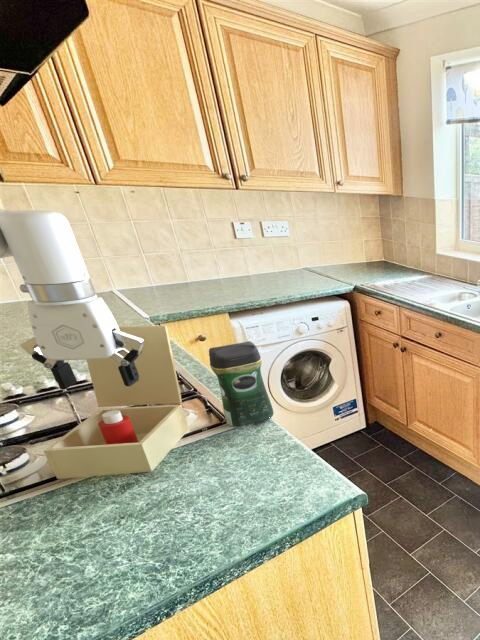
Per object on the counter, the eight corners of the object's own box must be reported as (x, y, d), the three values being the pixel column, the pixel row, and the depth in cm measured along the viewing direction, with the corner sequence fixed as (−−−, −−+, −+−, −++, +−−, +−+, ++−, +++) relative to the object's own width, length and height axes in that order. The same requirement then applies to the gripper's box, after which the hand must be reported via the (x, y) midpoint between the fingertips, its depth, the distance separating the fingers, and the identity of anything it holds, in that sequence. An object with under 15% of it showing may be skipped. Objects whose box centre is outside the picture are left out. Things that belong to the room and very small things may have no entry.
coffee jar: (267, 406, 104) (252, 336, 96) (278, 419, 99) (262, 345, 91) (222, 418, 98) (201, 344, 90) (231, 432, 93) (210, 354, 85)
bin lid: (164, 326, 85) (167, 325, 85) (77, 327, 81) (80, 326, 82) (180, 403, 89) (182, 402, 90) (98, 407, 86) (101, 405, 86)
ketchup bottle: (106, 461, 80) (89, 419, 76) (120, 448, 84) (104, 408, 80) (133, 459, 81) (117, 418, 77) (146, 446, 85) (131, 407, 81)
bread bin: (153, 474, 79) (141, 444, 76) (58, 482, 75) (43, 450, 72) (190, 431, 92) (181, 404, 90) (111, 436, 89) (100, 408, 86)
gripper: (-24, 297, 64) (26, 396, 71) (111, 296, 68) (145, 391, 75) (17, 286, 70) (58, 378, 78) (137, 286, 74) (166, 374, 82)
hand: (101, 384), depth 76 cm, fingers open, 9 cm apart
